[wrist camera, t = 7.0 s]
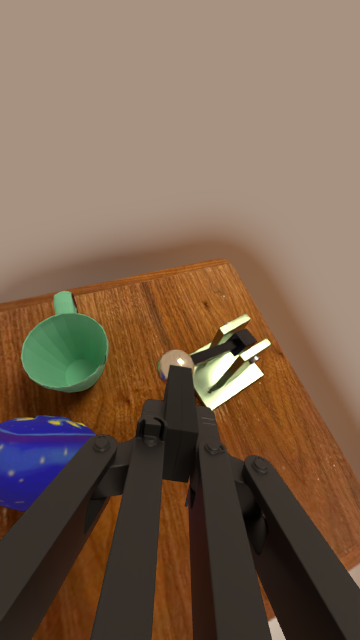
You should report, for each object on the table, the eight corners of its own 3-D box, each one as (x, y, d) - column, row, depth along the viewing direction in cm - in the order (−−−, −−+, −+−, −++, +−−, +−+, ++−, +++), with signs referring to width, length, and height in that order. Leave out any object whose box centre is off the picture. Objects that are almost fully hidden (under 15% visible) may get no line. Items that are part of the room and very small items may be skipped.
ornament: (107, 427, 37) (90, 404, 24) (92, 507, 33) (60, 531, 20) (26, 420, 36) (-37, 391, 23) (-2, 501, 32) (-100, 520, 19)
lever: (162, 399, 24) (182, 380, 22) (143, 367, 26) (160, 345, 24) (245, 358, 35) (264, 343, 33) (229, 337, 37) (246, 321, 35)
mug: (120, 397, 39) (114, 375, 31) (49, 415, 37) (21, 398, 28) (104, 314, 46) (95, 277, 37) (43, 325, 44) (18, 289, 35)
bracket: (208, 413, 40) (233, 391, 29) (175, 364, 43) (187, 327, 32) (261, 377, 44) (301, 345, 33) (228, 334, 47) (254, 292, 36)
